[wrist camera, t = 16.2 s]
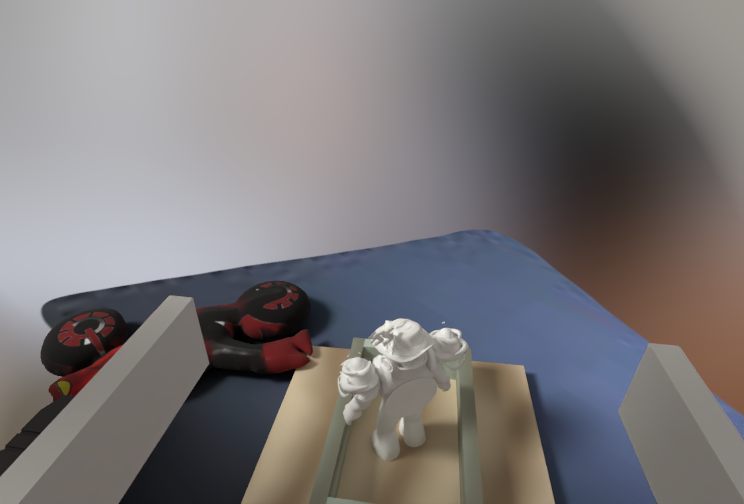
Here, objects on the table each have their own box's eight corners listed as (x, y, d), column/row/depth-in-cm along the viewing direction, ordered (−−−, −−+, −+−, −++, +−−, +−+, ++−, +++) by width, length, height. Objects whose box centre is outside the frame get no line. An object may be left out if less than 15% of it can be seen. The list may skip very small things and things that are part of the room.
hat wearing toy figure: (353, 489, 28) (347, 352, 22) (333, 441, 31) (322, 311, 25) (466, 438, 32) (486, 308, 26) (437, 400, 35) (449, 276, 29)
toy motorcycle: (67, 346, 44) (-21, 465, 30) (53, 301, 43) (-48, 405, 28) (307, 311, 50) (330, 397, 36) (303, 271, 49) (326, 344, 34)
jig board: (224, 563, 26) (211, 526, 24) (306, 354, 41) (303, 321, 39) (574, 621, 23) (592, 585, 21) (521, 375, 39) (528, 341, 37)
